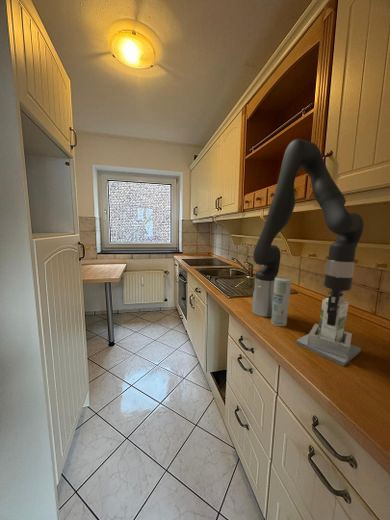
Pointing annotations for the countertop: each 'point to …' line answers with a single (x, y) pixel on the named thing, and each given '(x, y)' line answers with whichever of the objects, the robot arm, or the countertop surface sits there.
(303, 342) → the board
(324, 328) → the syrup box
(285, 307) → the spray can
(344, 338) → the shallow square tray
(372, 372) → the countertop surface
